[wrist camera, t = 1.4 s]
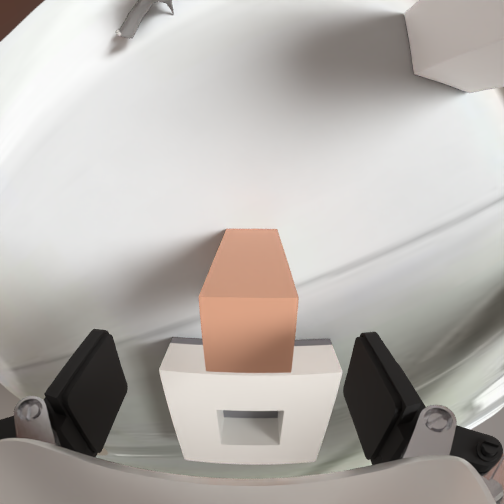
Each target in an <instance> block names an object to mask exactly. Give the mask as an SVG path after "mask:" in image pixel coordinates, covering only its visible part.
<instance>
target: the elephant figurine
mask: <svg viewBox="0 0 504 504" xmlns="http://www.w3.org/2000/svg"><path fill="white" fill-rule="evenodd" d="M155 2H163V3H166V4H167V5H168V6H169V8H170V9H171V11H172V13H173V15H174V12H173V6H172V0H138V2H137V3H136V5H135V6H134V8H133V9H132V10H131V11H130V13H129V14H128V16H127V18H126V20H125V21H124V23H123V24H122V26H121V28H120V29H119V30H117V31H116V32H115V33H117V35H118V36H121V37H125V38H133V36H134V34H135V32H136V30H137V28H138V26H139V24H140V22H141V20H142V18H143V16H144V15H145V14H146V13H147V12H148V10H149V9H150V7H151V6H152V4H153V3H155Z"/></svg>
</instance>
